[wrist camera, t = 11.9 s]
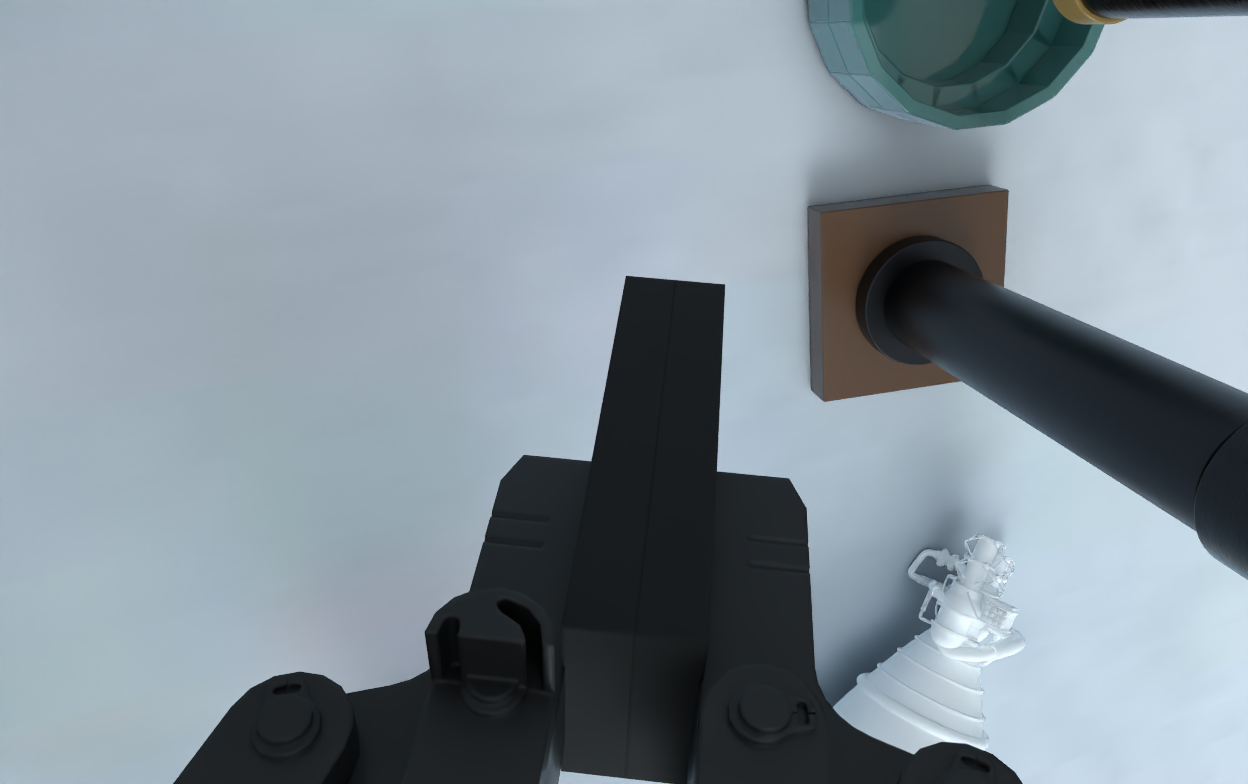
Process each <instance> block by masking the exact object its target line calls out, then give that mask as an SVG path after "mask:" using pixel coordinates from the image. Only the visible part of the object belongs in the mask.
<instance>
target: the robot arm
mask: <svg viewBox="0 0 1248 784" xmlns="http://www.w3.org/2000/svg"><path fill="white" fill-rule="evenodd" d="M724 298H725V285H724V284H712V283H701V282H690V281H678V280H667V279H655V278H644V277H633V276H626V279H625V284H624V290H623V295H622V301H621V306H620V311H619V317H618V322H617V327H616V333H615V338H614V344H613V349H612V354H611V360H610V365H609V370H608V376H607V381H606V387H605V392H604V397H603V403H602V408H601V413H600V419H599V424H598V430H597V435H596V440H595V446H594V451H593V456H592V462H591V461H581V460H571V459H561V458H550V457H540V456H530V455H523V456H522V457H521V458H520V460H519V461H518V462H517V463H516V464H515V465H514V466H513V467H512V468H511V470H510V471H509V472H508V473H507V474H506V475H505V476H504V477H503V478H502V480H501V481H500V485H499V488H498V492H497V496H496V499H495V503H494V506H493V510H492V517H490V520H489V524H488V527H487V531H486V535H485V542H483V545H482V549H481V552H480V556H479V559H478V563H477V566H476V570H475V574H474V577H473V581H472V584H471V588H470V591H469V592H468V593H465V594H462V595H460V596H457V597H454V598H453V599H452V600H450V601H449V602H448V603H447V604H445V605H444V606H443V607H442V608H441V609H439V610H438V611H437V612H436V613H435V614H434V616H433V618H432V620H431V622H430V623H429V625H428V627H427V629H426V630H425V638H426V645H427V652H428V659H429V666H430V669H429V670H427V671H426V672H424V673H422V674H420V675H418V676H416V677H414V678H412V679H410V680H407V681H404V682H400V683H397V684H393V685H390V686H384V687H379V688H374V689H368V690H363V691H357V692H352V693H347V694H346V693H345V692H344V690H343V688H342V687H341V686H340V685H338V684H337V683H335V682H333V681H332V680H330V679H328V678H327V677H325V676H324V675H318V674H312V673H305V672H295V673H290V674H284V675H279V676H274V677H272V678H270V679H268V680H266V681H264V682H262V683H260V684H258V685H256V686H254V687H252V688H250V689H249V690H248V691H247V692H246V693H245V694H244V695H243V696H242V697H241V698H240V699H239V700H238V701H237V702H236V703H235V704H234V705H233V706H232V707H231V708H230V709H229V711H228V712H227V713H226V715H225V716H224V717H223V719H222V720H221V721H220V723H219V724H218V725H217V727H216V728H215V729H214V731H213V732H212V733H211V734H210V736H209V737H208V738H207V740H206V741H205V742H204V744H203V745H202V746H201V748H200V749H199V750H198V752H197V753H196V754H195V756H194V757H193V758H192V760H191V761H190V762H189V764H188V765H187V766H186V767H185V769H184V770H183V771H182V773H181V774H180V775H179V777H178V778H177V779H176V781H175V782H174V783H173V784H558V781H559V775H560V769H561V771H566V772H575V773H584V774H592V775H601V776H610V777H618V778H627V779H636V780H644V781H653V782H662V783H670V784H1023V783H1022V782H1021V780H1020V779H1019V777H1018V776H1017V775H1016V773H1015V772H1014V771H1013V770H1012V769H1010V768H1009V767H1008V766H1007V765H1005V764H1004V763H1003V762H1002V761H1000V760H999V759H998V758H997V757H995V756H994V755H993V754H991V753H988V752H986V751H984V750H981V749H979V748H976V747H974V746H971V745H969V744H965V743H952V742H939V743H936V744H933V745H930V746H927V747H923V748H920V749H919V750H918V751H917V752H916V753H915V754H911V753H909V752H907V751H904V750H902V749H900V748H897V747H895V746H892V745H890V744H888V743H885V742H883V741H881V740H878V739H876V738H873V737H871V736H869V735H867V734H866V733H864V732H862V731H860V730H858V729H856V728H854V727H853V726H852V725H850V724H849V723H848V722H847V721H846V720H844V719H843V718H842V717H841V716H840V715H838V714H837V712H836V711H835V710H834V709H833V707H832V706H831V705H830V704H829V703H828V701H827V700H826V699H825V696H824V694H823V692H822V690H821V688H820V686H819V684H818V680H817V675H816V670H815V659H814V640H813V622H812V603H811V584H810V573H809V568H810V565H809V547H808V527H807V509H806V507H805V505H804V503H803V502H802V500H801V498H800V496H799V495H798V493H797V491H796V490H795V488H794V486H793V484H792V483H791V481H790V479H788V478H778V477H767V476H757V475H747V474H737V473H727V472H717V454H718V432H719V409H720V387H721V365H722V342H723V320H724Z"/></svg>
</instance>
